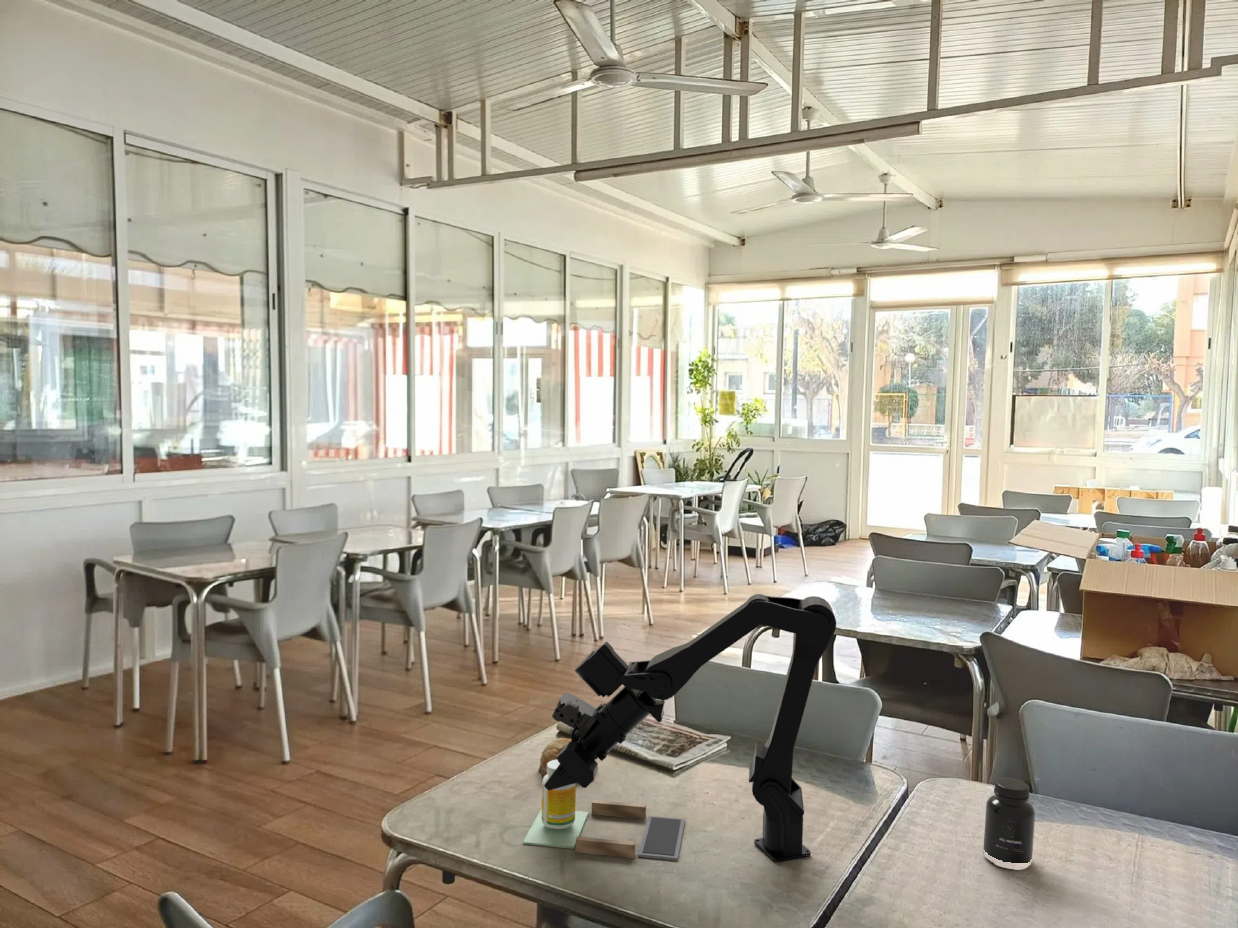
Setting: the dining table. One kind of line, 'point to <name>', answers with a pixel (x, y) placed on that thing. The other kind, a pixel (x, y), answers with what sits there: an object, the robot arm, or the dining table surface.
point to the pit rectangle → (662, 838)
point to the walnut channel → (608, 845)
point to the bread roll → (551, 753)
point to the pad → (555, 832)
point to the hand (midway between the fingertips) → (550, 780)
